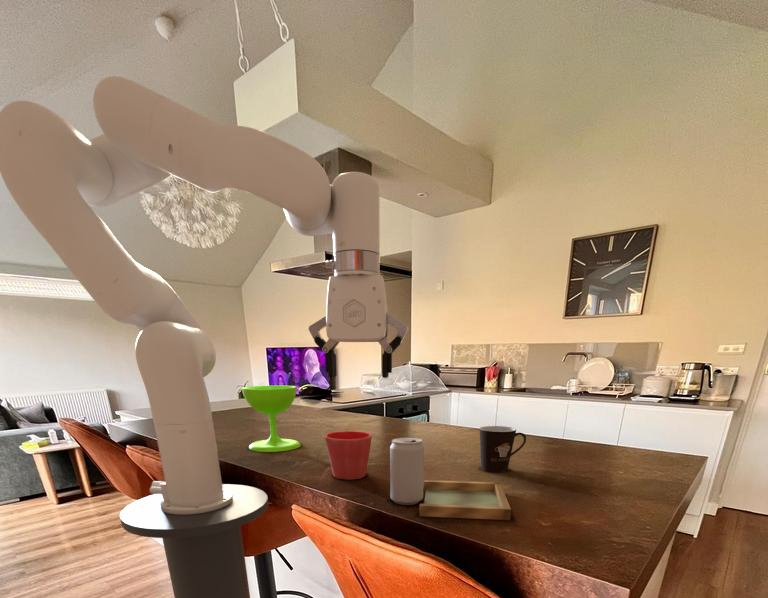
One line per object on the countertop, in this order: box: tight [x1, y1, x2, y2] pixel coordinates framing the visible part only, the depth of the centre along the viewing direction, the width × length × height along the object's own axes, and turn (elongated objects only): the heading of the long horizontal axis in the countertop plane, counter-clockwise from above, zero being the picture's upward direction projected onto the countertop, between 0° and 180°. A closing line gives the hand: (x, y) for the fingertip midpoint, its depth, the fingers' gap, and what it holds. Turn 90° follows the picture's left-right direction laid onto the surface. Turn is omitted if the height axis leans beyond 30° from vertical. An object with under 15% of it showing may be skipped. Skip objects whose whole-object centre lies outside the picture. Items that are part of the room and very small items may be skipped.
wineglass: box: [241, 385, 302, 453], centre depth 130 cm, size 16×16×18 cm
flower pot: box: [324, 430, 372, 481], centre depth 98 cm, size 11×11×10 cm
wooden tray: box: [418, 479, 512, 521], centre depth 80 cm, size 16×16×2 cm
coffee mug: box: [479, 425, 527, 473], centre depth 103 cm, size 12×9×10 cm
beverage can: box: [389, 437, 425, 506], centre depth 80 cm, size 6×6×12 cm
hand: (358, 377), depth 75 cm, fingers open, 9 cm apart
